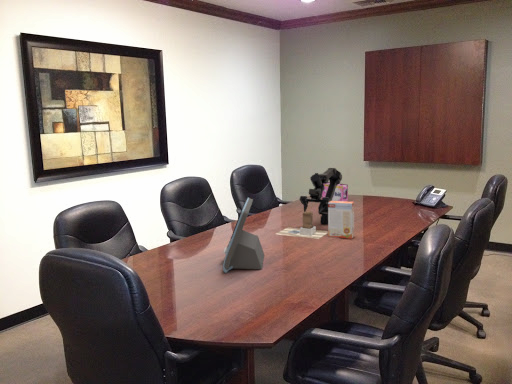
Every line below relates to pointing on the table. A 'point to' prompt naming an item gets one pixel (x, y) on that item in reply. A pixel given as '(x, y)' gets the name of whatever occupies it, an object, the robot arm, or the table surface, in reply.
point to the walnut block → (308, 220)
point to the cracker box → (341, 219)
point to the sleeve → (308, 231)
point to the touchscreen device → (243, 246)
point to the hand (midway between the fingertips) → (311, 212)
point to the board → (297, 233)
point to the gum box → (337, 192)
